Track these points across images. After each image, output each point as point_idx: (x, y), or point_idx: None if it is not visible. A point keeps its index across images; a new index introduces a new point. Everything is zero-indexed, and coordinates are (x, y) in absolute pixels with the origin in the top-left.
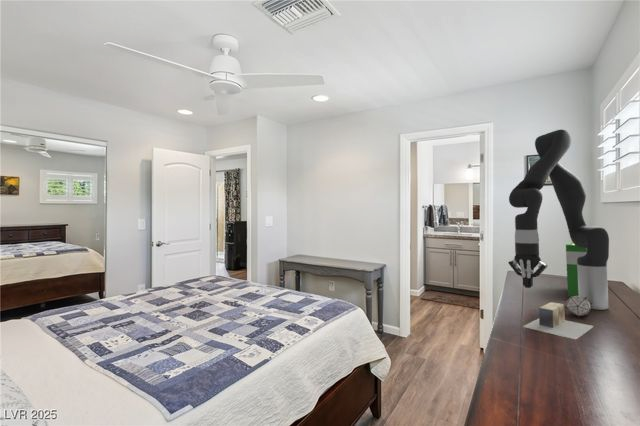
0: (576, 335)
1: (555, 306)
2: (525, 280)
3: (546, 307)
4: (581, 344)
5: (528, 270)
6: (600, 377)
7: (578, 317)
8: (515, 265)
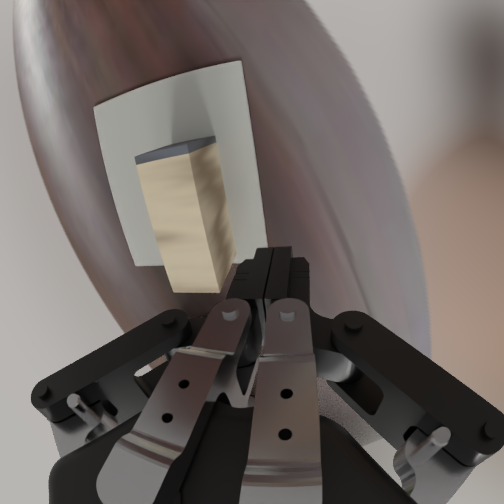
0: (107, 141)
1: (165, 234)
2: (275, 280)
3: (173, 184)
4: (80, 94)
5: (194, 362)
6: (34, 5)
7: (200, 316)
8: (412, 434)
